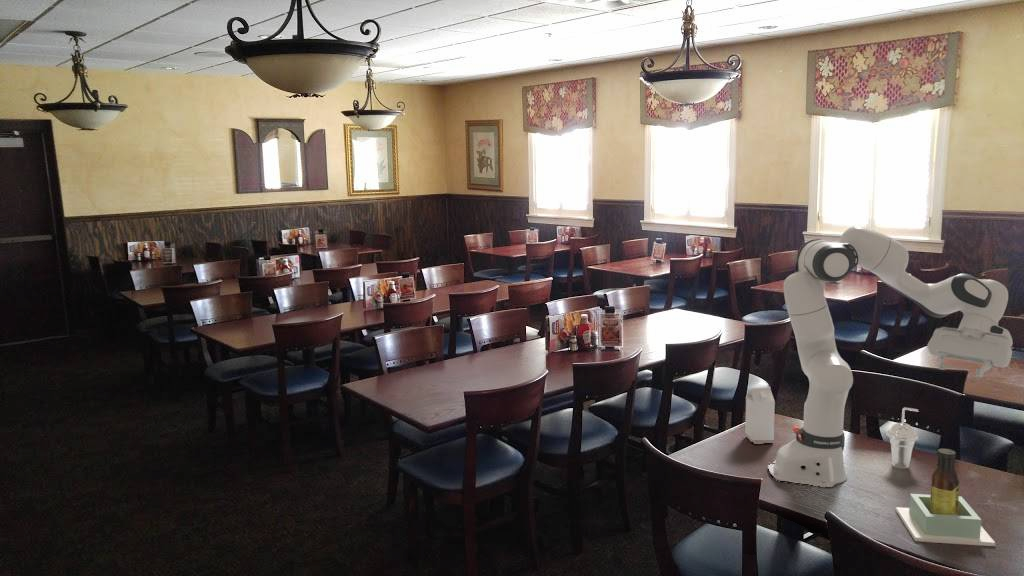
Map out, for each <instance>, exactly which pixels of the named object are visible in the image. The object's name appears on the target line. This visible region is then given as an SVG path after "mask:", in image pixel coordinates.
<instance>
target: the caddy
mask: <svg viewBox="0 0 1024 576" xmlns="http://www.w3.org/2000/svg"><path fill="white" fill-rule="evenodd" d="M930 495H931V494H922V493H909V502H908V503H909V504H908V505H909V506H908V507H897V506H896V507H895V511H896V514H897V515H898V516H899V518H900V520H901V521H902V523H903V524H904V526H905V528H906V529H907V530H908V532H909V534H910V535H911V537H912V538H913V540H914V542H923V543H936V544H937V543H938V544H939V543H941V544H953V545H968V546H985V547H996V542H995V540H994V539H993V538H992V537H991V536H990V535H989V533H988V532H987V531H986V530H985V529H984V527H983V526H982V518H981V517H980V516H979V515H978V514H977V513H976V511H974V509H973V508H972V507H971V506H970V504H969V503H968V502H967V501H966V500H965V498H964V497H963V496H962V495H961V496H960V495H959V499H958V516H957V515H940V514H930Z"/></svg>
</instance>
